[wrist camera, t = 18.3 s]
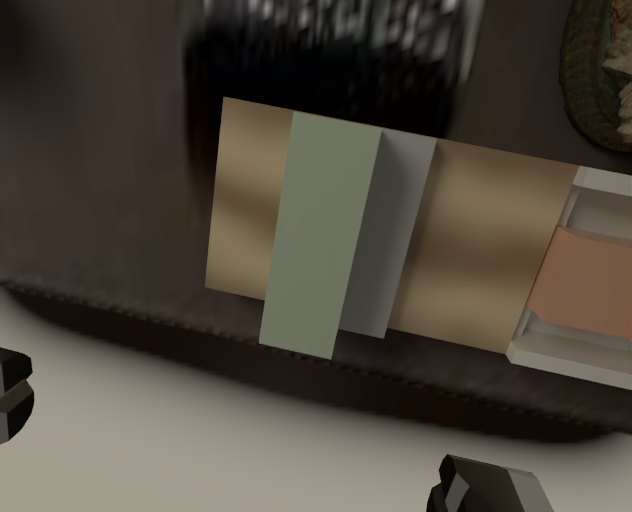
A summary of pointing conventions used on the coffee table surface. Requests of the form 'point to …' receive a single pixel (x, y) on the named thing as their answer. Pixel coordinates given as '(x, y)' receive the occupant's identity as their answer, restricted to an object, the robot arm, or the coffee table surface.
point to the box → (572, 343)
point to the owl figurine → (599, 71)
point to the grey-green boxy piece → (341, 231)
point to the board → (427, 236)
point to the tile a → (585, 282)
